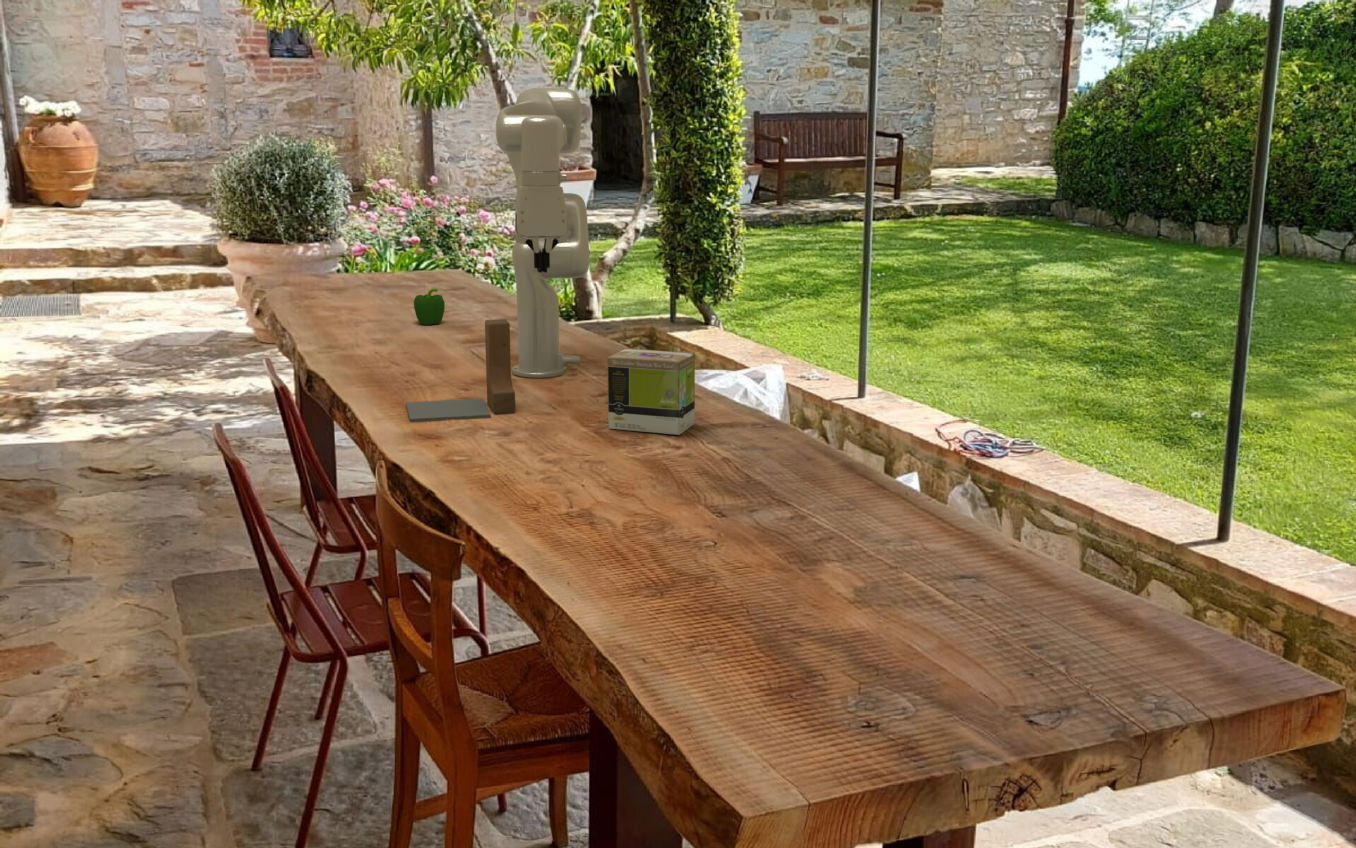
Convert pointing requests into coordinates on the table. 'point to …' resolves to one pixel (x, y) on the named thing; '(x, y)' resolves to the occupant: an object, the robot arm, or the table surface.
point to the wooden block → (499, 367)
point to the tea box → (651, 391)
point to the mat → (447, 410)
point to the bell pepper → (429, 308)
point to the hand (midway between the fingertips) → (542, 271)
